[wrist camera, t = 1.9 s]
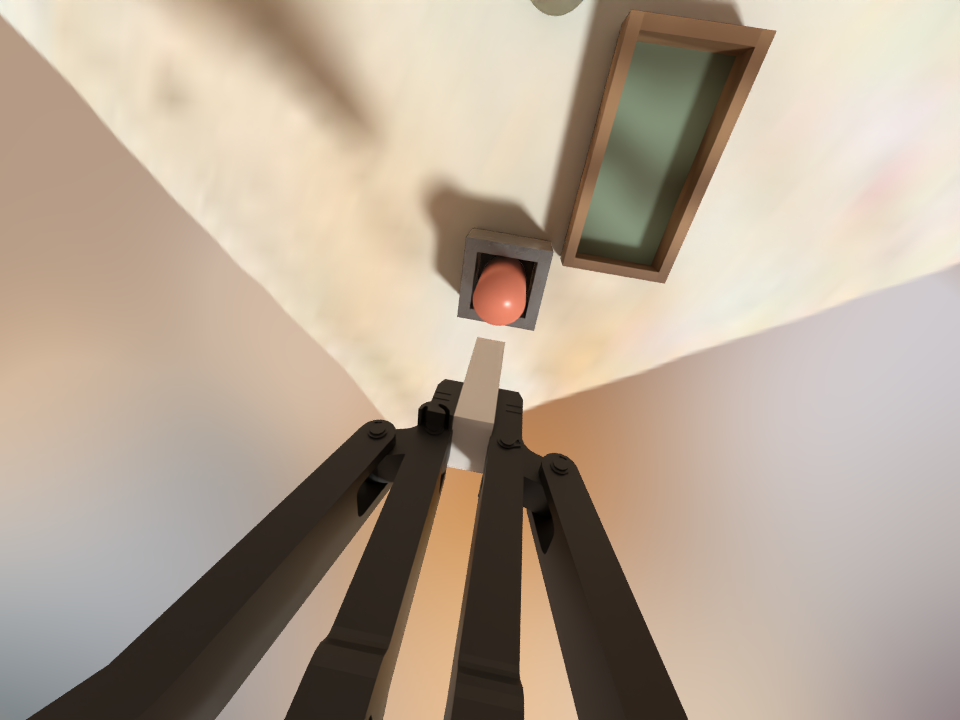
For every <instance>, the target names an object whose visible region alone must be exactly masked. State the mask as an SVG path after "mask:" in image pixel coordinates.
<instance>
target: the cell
mask: <svg viewBox="0 0 960 720" xmlns="http://www.w3.org/2000/svg"><path fill="white" fill-rule="evenodd" d="M531 1H532V3H533V4H534V5H535V6H536V7H537V8H538V9H539V10H540V11H541V12H543V13H545V14H547V15H551V16H559V15H564V14H566V13H568V12H570V11H572V10H573V9H575V8H576V7H577V6H578V5H579V4H580V3H581V2H582V1H583V0H531Z"/></svg>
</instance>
